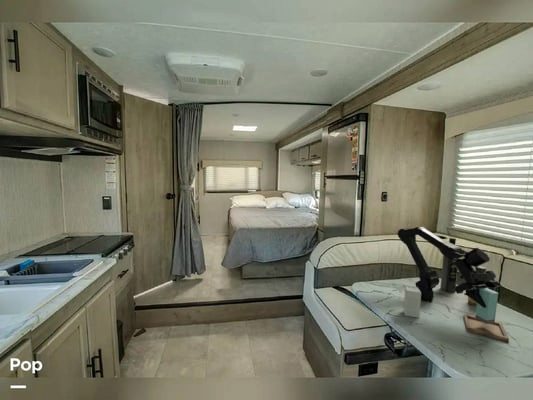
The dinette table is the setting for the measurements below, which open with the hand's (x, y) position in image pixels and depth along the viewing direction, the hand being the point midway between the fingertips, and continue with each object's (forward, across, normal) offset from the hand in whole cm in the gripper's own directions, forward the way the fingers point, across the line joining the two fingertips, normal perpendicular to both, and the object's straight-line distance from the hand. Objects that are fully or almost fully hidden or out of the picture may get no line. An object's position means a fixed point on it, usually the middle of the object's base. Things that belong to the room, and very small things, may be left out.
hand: (490, 307), depth 108 cm
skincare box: (-4, -23, +19) cm, 30 cm away
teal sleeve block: (+4, 0, +6) cm, 7 cm away
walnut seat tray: (+6, 0, +8) cm, 10 cm away
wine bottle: (-17, +18, +32) cm, 41 cm away
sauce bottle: (-6, +18, +21) cm, 28 cm away
